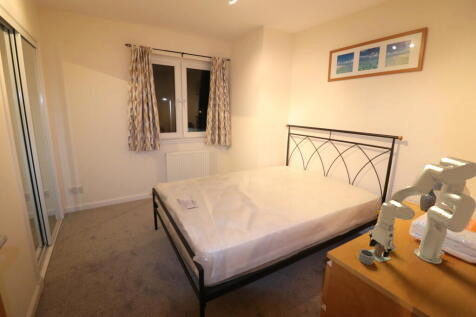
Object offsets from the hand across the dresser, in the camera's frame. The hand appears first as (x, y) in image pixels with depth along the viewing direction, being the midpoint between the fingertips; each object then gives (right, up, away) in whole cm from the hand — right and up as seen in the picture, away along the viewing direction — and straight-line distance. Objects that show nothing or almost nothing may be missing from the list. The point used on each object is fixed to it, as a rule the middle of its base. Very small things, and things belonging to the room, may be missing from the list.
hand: (378, 251), depth 130 cm
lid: (0, -3, +1) cm, 3 cm away
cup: (-10, -3, -5) cm, 12 cm away
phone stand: (+8, -1, +12) cm, 15 cm away
